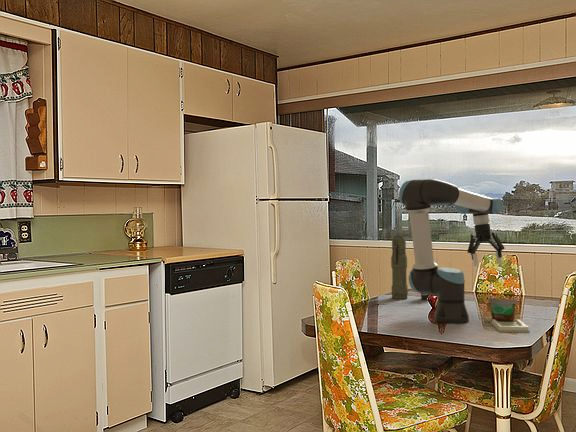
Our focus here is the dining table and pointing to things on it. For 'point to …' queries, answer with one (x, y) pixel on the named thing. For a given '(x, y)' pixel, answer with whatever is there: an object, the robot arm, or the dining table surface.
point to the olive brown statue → (399, 268)
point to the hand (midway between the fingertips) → (487, 265)
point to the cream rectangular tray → (510, 326)
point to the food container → (502, 309)
